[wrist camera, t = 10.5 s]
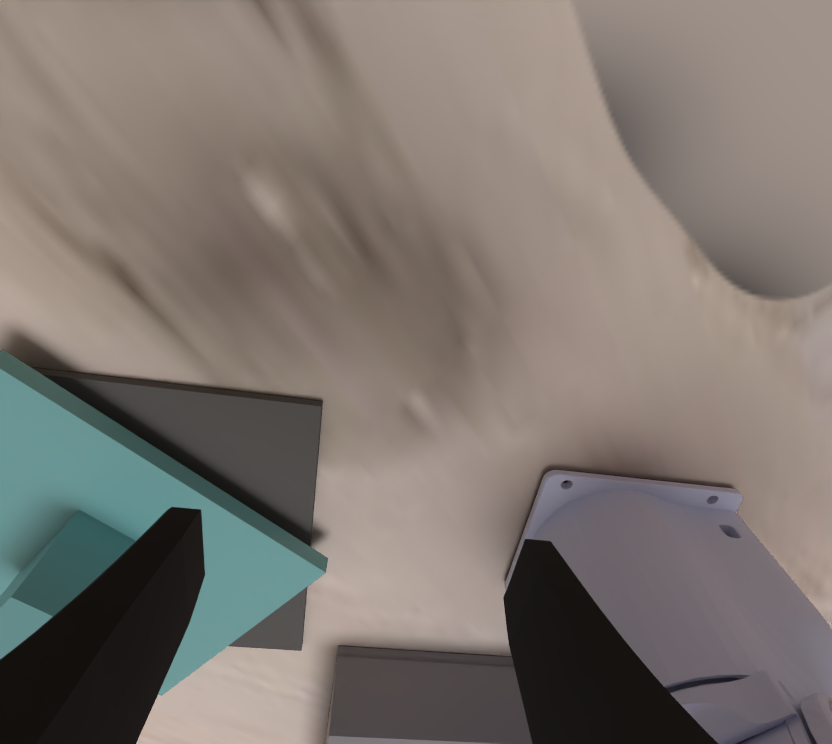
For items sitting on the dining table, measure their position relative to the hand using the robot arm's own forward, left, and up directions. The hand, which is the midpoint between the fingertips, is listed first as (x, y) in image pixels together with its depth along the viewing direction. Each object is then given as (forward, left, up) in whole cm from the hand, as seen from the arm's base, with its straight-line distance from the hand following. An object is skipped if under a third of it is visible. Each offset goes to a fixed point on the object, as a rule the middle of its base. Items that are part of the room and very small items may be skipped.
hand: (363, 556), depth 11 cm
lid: (+11, +10, -9) cm, 18 cm away
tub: (-7, +24, -9) cm, 27 cm away
